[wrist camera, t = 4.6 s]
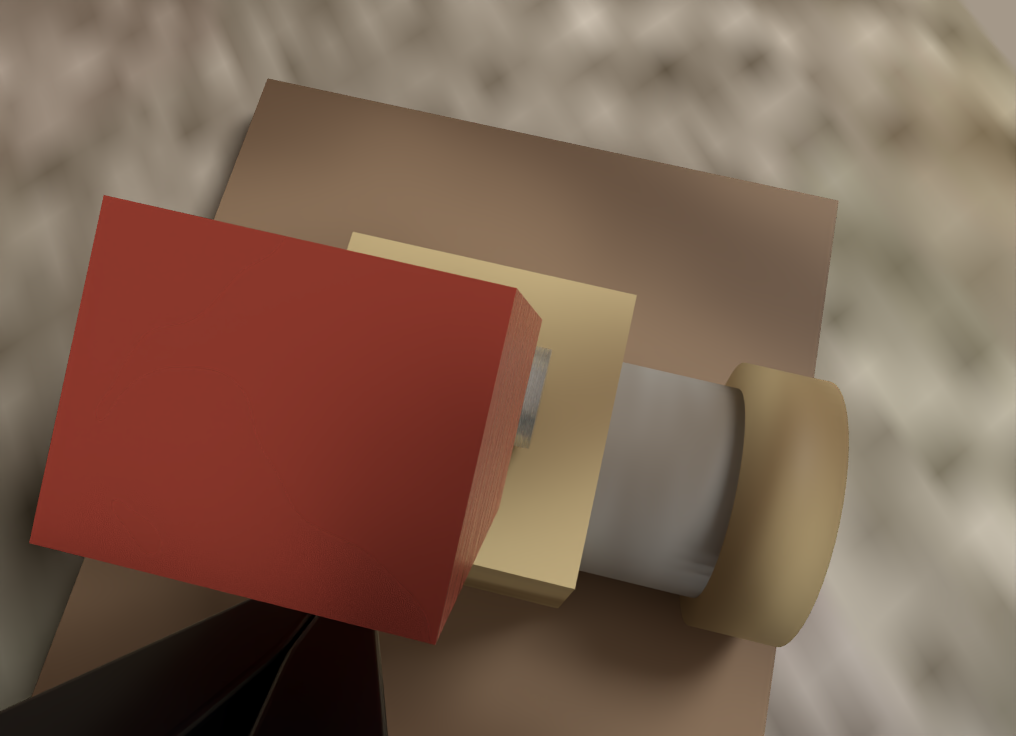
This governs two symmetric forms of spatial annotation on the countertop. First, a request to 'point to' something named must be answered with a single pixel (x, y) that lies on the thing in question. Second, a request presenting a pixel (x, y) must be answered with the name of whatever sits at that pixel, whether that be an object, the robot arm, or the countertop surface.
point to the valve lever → (287, 418)
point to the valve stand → (573, 423)
